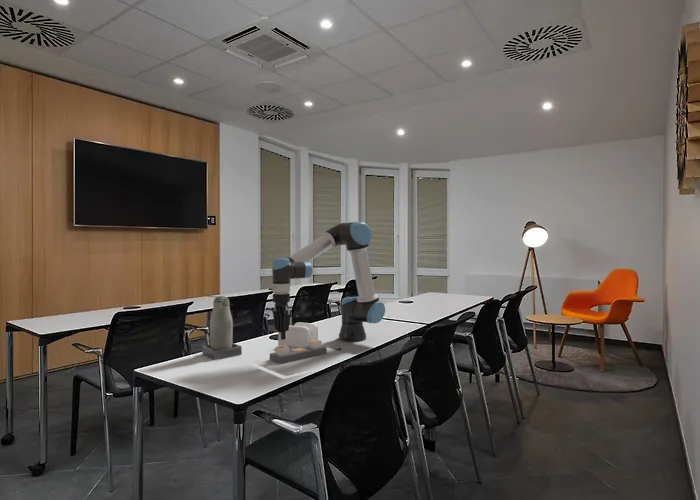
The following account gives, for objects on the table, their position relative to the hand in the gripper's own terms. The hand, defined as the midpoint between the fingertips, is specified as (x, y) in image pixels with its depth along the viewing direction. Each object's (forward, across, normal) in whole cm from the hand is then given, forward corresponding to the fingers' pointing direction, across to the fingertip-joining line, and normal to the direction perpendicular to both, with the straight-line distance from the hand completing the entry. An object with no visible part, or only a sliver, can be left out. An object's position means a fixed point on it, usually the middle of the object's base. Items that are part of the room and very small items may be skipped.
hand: (281, 346), depth 189 cm
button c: (+4, 0, 0) cm, 4 cm away
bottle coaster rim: (+7, -33, -13) cm, 36 cm away
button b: (+6, 0, +9) cm, 11 cm away
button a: (+4, 0, +18) cm, 18 cm away
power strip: (+7, 0, +15) cm, 17 cm away
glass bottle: (+8, -33, -13) cm, 36 cm away
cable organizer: (+8, -18, +23) cm, 30 cm away
